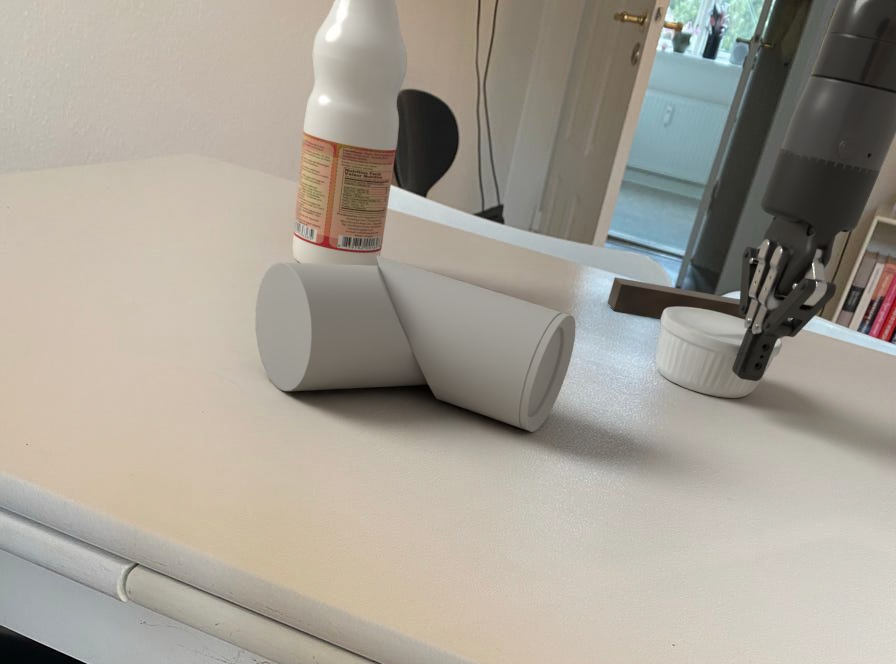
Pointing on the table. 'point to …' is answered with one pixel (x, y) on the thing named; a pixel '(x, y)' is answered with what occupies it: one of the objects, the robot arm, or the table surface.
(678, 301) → the stop bar
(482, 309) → the elbow connector
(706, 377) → the ramekin
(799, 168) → the robot arm
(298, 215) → the fruit juice
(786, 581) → the table surface
